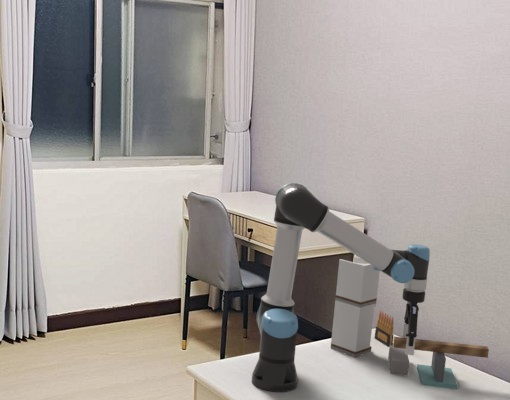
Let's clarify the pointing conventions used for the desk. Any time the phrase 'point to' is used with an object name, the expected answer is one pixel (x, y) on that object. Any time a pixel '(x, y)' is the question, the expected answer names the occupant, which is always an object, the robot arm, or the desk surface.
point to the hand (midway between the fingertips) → (407, 348)
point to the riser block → (398, 361)
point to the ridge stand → (437, 373)
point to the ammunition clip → (384, 329)
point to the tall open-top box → (354, 307)
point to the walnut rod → (444, 347)
